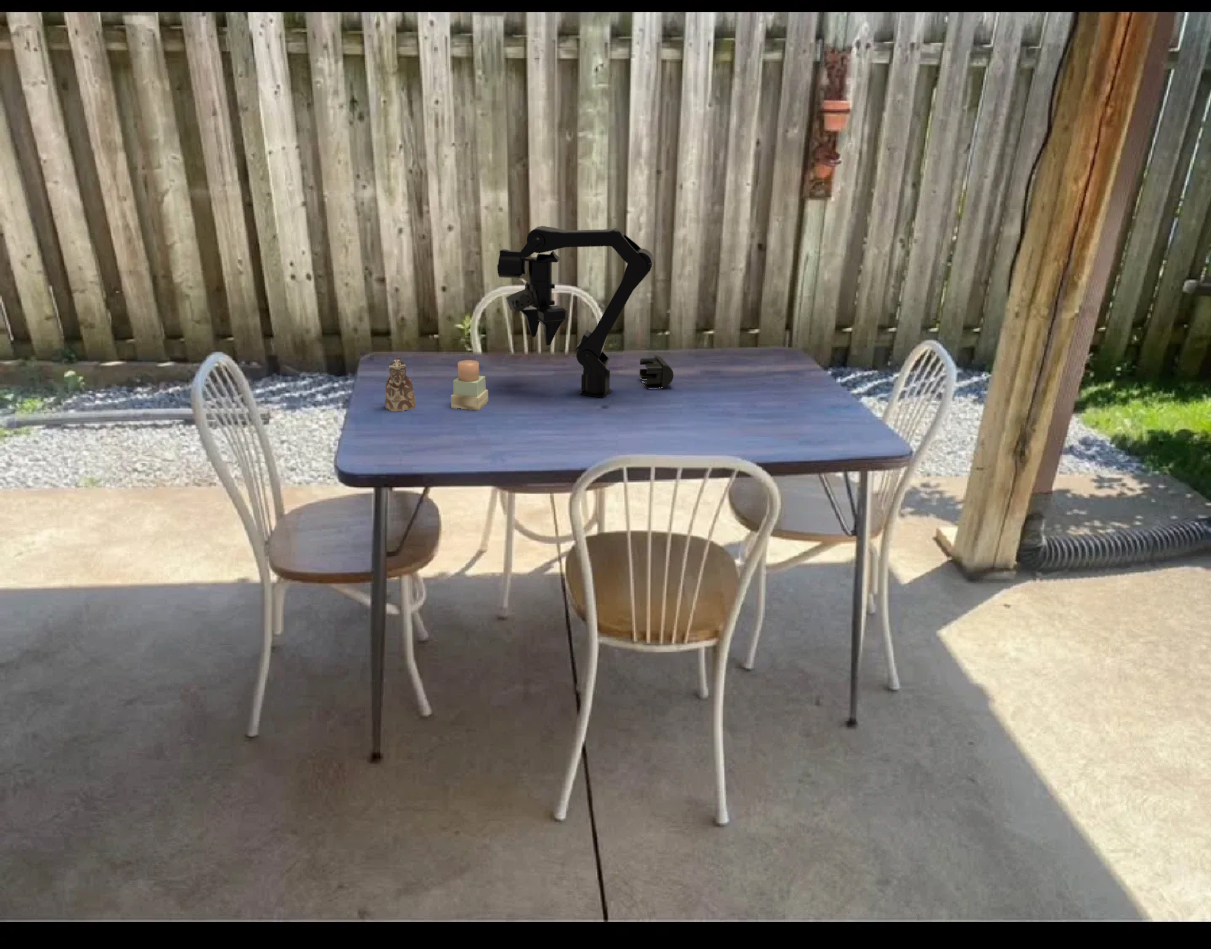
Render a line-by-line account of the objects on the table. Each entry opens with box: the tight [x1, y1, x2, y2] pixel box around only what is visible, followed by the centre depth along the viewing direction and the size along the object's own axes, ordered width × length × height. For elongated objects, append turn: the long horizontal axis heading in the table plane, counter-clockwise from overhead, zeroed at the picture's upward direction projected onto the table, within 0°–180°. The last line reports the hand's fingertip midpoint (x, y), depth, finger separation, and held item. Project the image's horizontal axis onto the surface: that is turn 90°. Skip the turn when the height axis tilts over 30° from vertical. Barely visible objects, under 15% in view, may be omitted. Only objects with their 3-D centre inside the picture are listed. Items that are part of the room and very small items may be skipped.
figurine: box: [384, 356, 416, 412], centre depth 210 cm, size 7×7×12 cm
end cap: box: [639, 354, 674, 389], centre depth 234 cm, size 10×7×7 cm
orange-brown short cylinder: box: [457, 359, 480, 382], centre depth 212 cm, size 5×5×4 cm
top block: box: [452, 375, 487, 397], centre depth 214 cm, size 6×6×4 cm
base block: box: [450, 389, 489, 411], centre depth 215 cm, size 7×7×4 cm
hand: (540, 340), depth 223 cm, fingers open, 9 cm apart
